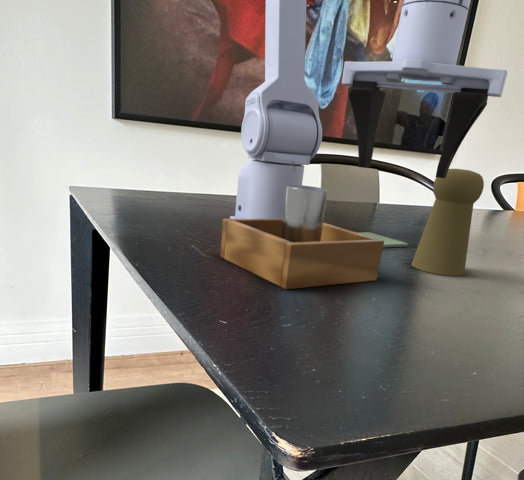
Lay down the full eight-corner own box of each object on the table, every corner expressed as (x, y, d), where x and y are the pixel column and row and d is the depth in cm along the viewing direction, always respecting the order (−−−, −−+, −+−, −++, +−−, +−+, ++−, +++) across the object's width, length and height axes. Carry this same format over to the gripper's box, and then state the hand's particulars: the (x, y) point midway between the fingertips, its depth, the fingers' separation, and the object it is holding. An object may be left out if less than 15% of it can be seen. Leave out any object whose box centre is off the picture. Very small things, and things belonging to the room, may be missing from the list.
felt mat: (332, 235, 71) (332, 233, 71) (369, 234, 75) (369, 232, 75) (370, 248, 65) (370, 245, 65) (407, 246, 69) (408, 243, 69)
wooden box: (219, 257, 52) (222, 218, 51) (305, 252, 59) (309, 218, 57) (285, 289, 44) (291, 244, 42) (376, 280, 50) (384, 240, 49)
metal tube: (269, 264, 52) (278, 184, 48) (299, 262, 54) (310, 185, 51) (293, 275, 49) (304, 190, 45) (323, 272, 51) (336, 191, 48)
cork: (468, 278, 55) (497, 174, 51) (413, 270, 56) (437, 167, 52) (460, 266, 61) (485, 171, 56) (409, 259, 61) (430, 165, 57)
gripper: (342, -3, 43) (319, 163, 49) (523, -2, 38) (474, 183, 43) (364, 17, 49) (341, 162, 55) (523, 20, 44) (480, 181, 49)
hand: (401, 172), depth 49 cm, fingers open, 7 cm apart
